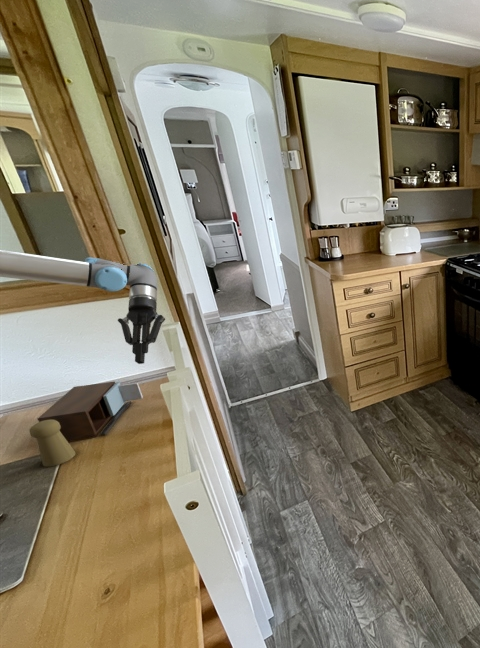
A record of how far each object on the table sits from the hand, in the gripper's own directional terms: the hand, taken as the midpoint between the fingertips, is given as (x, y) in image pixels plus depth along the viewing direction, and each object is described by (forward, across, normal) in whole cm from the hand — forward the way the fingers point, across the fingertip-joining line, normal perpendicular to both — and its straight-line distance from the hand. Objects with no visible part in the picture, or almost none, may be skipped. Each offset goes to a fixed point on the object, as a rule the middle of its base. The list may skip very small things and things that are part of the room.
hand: (139, 362), depth 125 cm
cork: (+32, +9, +16) cm, 36 cm away
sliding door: (+15, +2, +1) cm, 16 cm away
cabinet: (+19, +9, +4) cm, 22 cm away
